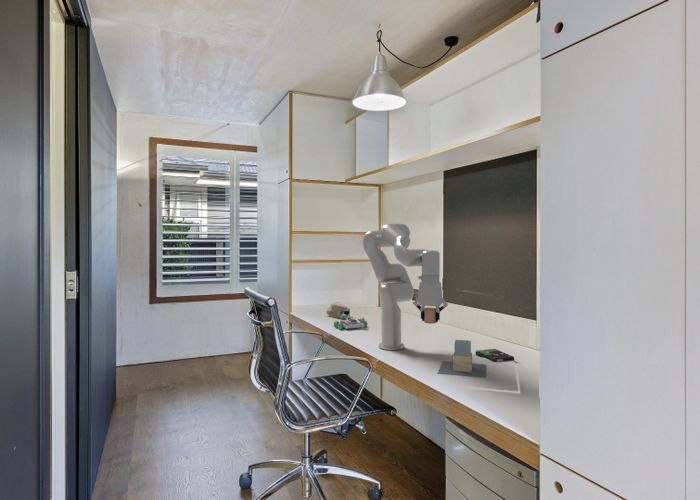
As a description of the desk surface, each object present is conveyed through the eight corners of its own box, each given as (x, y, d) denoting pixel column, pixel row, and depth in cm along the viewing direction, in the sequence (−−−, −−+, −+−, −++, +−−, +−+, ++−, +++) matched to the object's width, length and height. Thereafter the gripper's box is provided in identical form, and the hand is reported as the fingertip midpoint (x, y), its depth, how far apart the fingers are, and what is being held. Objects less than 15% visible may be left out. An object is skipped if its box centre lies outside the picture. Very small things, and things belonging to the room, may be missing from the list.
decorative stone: (352, 318, 292) (352, 304, 292) (343, 320, 287) (343, 305, 287) (333, 315, 308) (333, 300, 307) (324, 316, 303) (324, 301, 302)
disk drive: (514, 363, 189) (494, 354, 203) (514, 356, 189) (494, 348, 203) (493, 365, 186) (474, 355, 201) (494, 358, 186) (474, 349, 200)
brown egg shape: (425, 320, 193) (425, 307, 193) (437, 321, 191) (437, 307, 191) (423, 323, 188) (423, 309, 188) (435, 323, 186) (435, 309, 186)
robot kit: (352, 321, 284) (352, 307, 283) (370, 328, 261) (370, 313, 261) (326, 324, 276) (325, 309, 276) (341, 331, 253) (341, 315, 253)
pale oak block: (454, 365, 181) (454, 351, 181) (472, 367, 179) (472, 352, 179) (453, 370, 175) (453, 355, 174) (471, 372, 172) (471, 357, 172)
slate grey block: (455, 351, 180) (455, 339, 180) (470, 352, 178) (470, 340, 178) (454, 355, 175) (454, 343, 175) (470, 356, 173) (470, 344, 173)
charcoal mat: (442, 362, 188) (442, 361, 188) (486, 366, 182) (486, 364, 182) (437, 375, 171) (437, 373, 171) (485, 380, 165) (485, 377, 165)
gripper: (409, 279, 188) (408, 321, 189) (449, 280, 182) (449, 324, 183) (412, 277, 195) (412, 318, 196) (451, 278, 190) (451, 320, 190)
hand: (430, 320), depth 190 cm, fingers closed on brown egg shape, 5 cm apart
